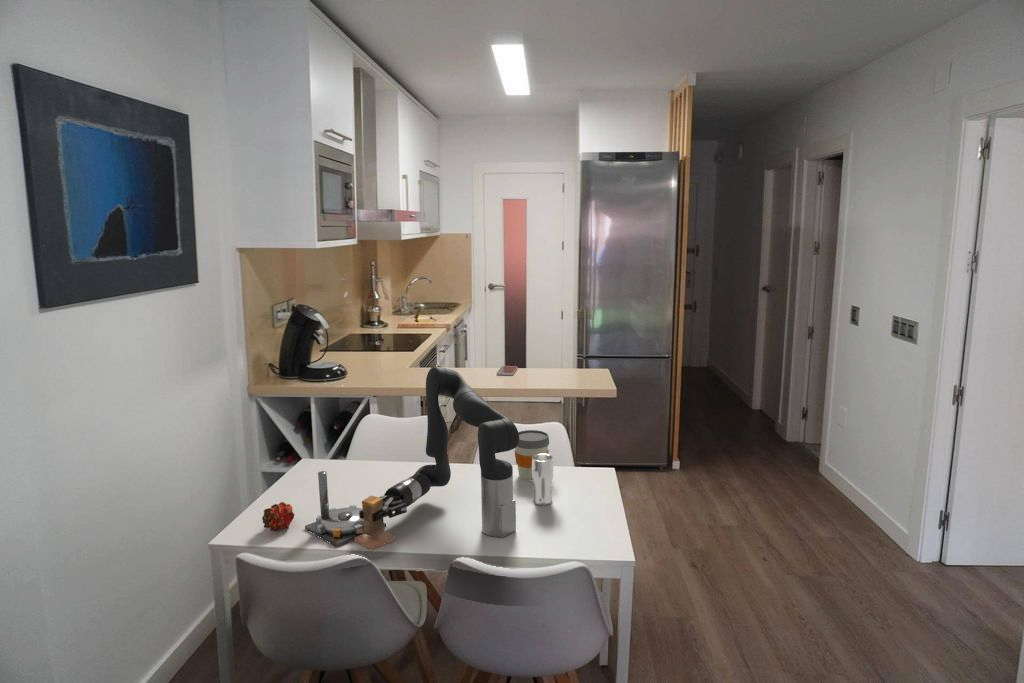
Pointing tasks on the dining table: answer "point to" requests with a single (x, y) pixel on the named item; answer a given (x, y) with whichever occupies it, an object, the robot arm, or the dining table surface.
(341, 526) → the sprocket
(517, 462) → the reusable coffee cup
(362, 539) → the salmon brown square slab
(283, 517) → the dragon fruit
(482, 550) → the dining table surface
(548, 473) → the silver metal cylinder
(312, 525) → the sprocket base
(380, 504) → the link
